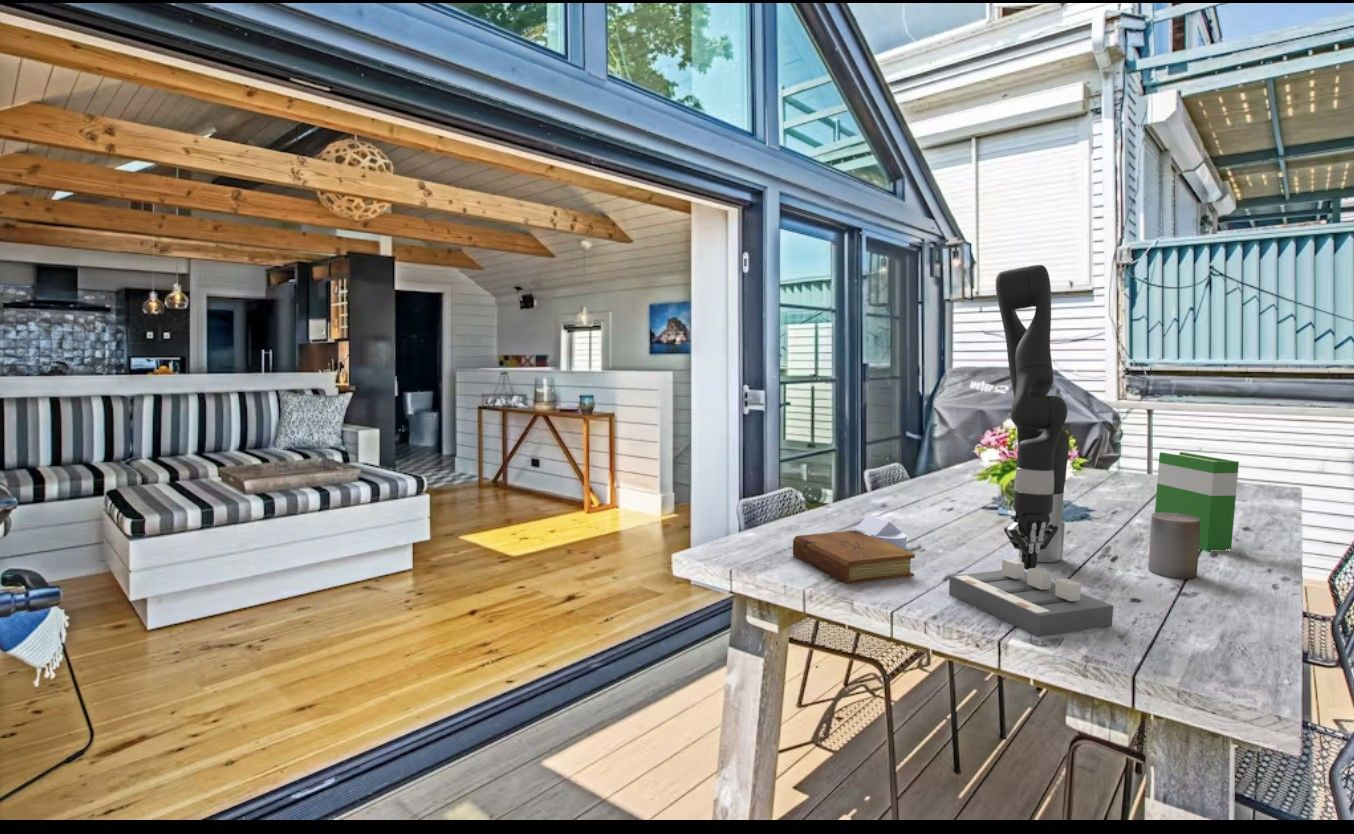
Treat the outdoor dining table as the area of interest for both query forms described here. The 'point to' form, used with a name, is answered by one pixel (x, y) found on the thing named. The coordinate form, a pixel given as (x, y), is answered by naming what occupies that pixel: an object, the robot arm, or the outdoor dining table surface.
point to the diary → (853, 556)
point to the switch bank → (1029, 604)
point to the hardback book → (1200, 494)
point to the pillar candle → (1174, 545)
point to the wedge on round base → (883, 531)
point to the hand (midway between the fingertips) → (1028, 569)
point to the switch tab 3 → (1068, 589)
